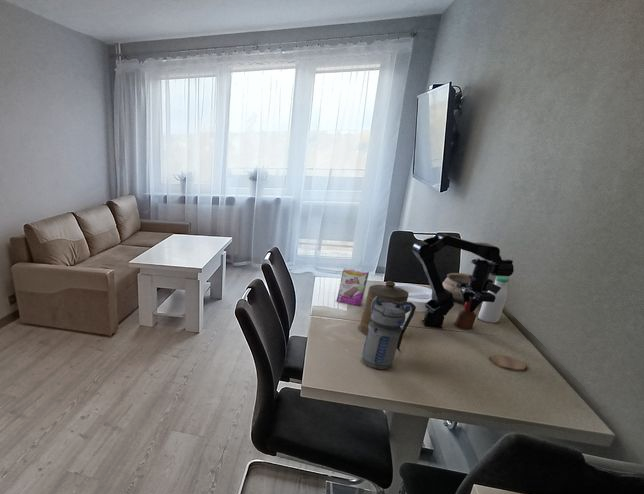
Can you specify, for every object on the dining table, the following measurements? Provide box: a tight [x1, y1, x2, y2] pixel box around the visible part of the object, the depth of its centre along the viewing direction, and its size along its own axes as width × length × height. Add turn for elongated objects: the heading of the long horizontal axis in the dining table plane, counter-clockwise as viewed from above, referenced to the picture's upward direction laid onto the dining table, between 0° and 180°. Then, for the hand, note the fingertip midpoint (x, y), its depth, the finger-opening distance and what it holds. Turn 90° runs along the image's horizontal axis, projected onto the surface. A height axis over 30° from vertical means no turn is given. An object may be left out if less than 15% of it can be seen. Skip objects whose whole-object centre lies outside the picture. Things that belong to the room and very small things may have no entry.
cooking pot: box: [442, 272, 485, 305], centre depth 205 cm, size 25×19×12 cm
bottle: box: [454, 309, 477, 331], centre depth 177 cm, size 6×6×10 cm
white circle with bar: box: [383, 282, 432, 313], centre depth 205 cm, size 28×28×5 cm
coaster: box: [490, 354, 527, 372], centre depth 149 cm, size 10×10×1 cm
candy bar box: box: [336, 267, 370, 307], centre depth 199 cm, size 11×5×16 cm, turn 58°
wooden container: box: [359, 280, 409, 335], centre depth 168 cm, size 15×15×22 cm
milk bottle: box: [477, 276, 510, 324], centre depth 183 cm, size 8×8×20 cm
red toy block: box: [462, 301, 476, 312], centre depth 175 cm, size 4×4×3 cm
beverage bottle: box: [361, 296, 416, 370], centre depth 142 cm, size 10×13×25 cm
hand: (468, 310), depth 176 cm, fingers closed on red toy block, 4 cm apart
